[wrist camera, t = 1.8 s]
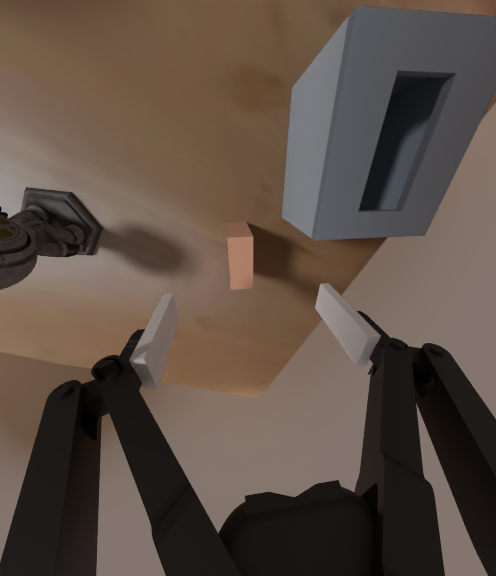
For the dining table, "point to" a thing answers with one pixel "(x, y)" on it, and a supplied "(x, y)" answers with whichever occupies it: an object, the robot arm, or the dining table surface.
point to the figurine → (44, 232)
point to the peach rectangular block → (240, 255)
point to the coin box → (386, 121)
